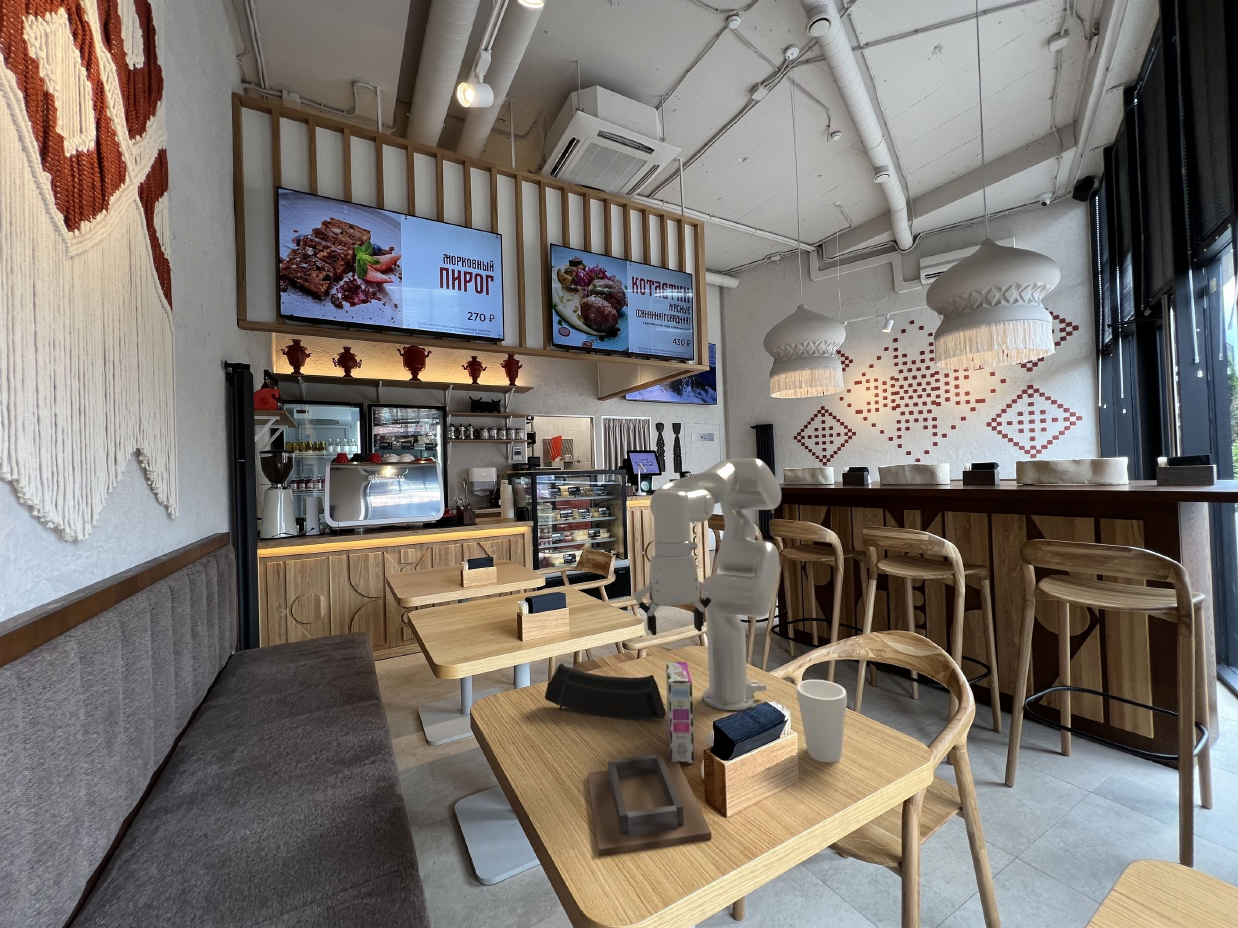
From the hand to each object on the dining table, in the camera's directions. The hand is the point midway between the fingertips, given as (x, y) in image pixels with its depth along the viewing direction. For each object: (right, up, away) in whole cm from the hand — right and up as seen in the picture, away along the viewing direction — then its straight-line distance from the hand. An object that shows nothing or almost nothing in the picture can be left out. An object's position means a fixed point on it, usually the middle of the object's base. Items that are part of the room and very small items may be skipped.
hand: (675, 631), depth 105 cm
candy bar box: (+1, -25, +1) cm, 25 cm away
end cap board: (-8, -25, -17) cm, 31 cm away
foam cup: (+30, -24, -3) cm, 38 cm away
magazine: (-16, -26, +17) cm, 35 cm away
